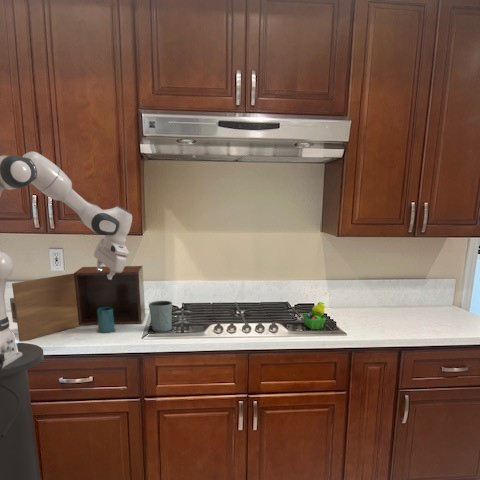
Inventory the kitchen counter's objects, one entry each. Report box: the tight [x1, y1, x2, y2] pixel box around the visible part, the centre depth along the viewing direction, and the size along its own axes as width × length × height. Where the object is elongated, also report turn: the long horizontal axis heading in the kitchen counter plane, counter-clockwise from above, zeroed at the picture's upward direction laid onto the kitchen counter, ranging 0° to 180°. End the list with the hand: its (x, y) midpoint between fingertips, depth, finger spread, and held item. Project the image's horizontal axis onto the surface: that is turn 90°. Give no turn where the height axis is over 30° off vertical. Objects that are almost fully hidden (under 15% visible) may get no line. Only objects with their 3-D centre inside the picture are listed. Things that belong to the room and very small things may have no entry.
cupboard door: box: [9, 273, 80, 343], centre depth 200 cm, size 7×28×24 cm, turn 146°
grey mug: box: [148, 300, 173, 333], centre depth 206 cm, size 10×10×12 cm
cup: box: [97, 307, 115, 334], centre depth 204 cm, size 7×7×10 cm
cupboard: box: [73, 265, 146, 327], centre depth 220 cm, size 18×28×24 cm, turn 96°
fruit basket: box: [301, 301, 327, 331], centre depth 210 cm, size 11×9×11 cm
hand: (103, 274), depth 202 cm, fingers open, 8 cm apart
